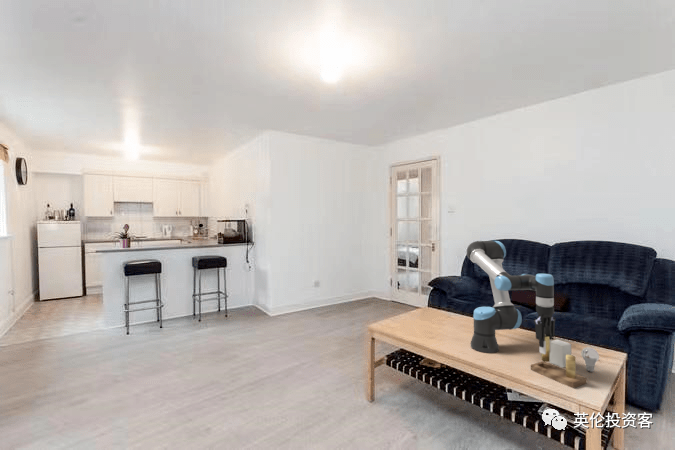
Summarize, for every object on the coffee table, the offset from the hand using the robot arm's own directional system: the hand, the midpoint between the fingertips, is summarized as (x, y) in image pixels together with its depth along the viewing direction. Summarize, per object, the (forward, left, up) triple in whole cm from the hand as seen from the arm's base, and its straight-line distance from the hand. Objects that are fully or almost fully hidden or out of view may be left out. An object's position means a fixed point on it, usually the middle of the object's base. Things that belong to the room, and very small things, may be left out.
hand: (545, 352), depth 162 cm
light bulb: (+10, +19, -10) cm, 23 cm away
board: (+6, 0, -9) cm, 11 cm away
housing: (-2, +15, -9) cm, 18 cm away
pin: (0, 0, -4) cm, 4 cm away
